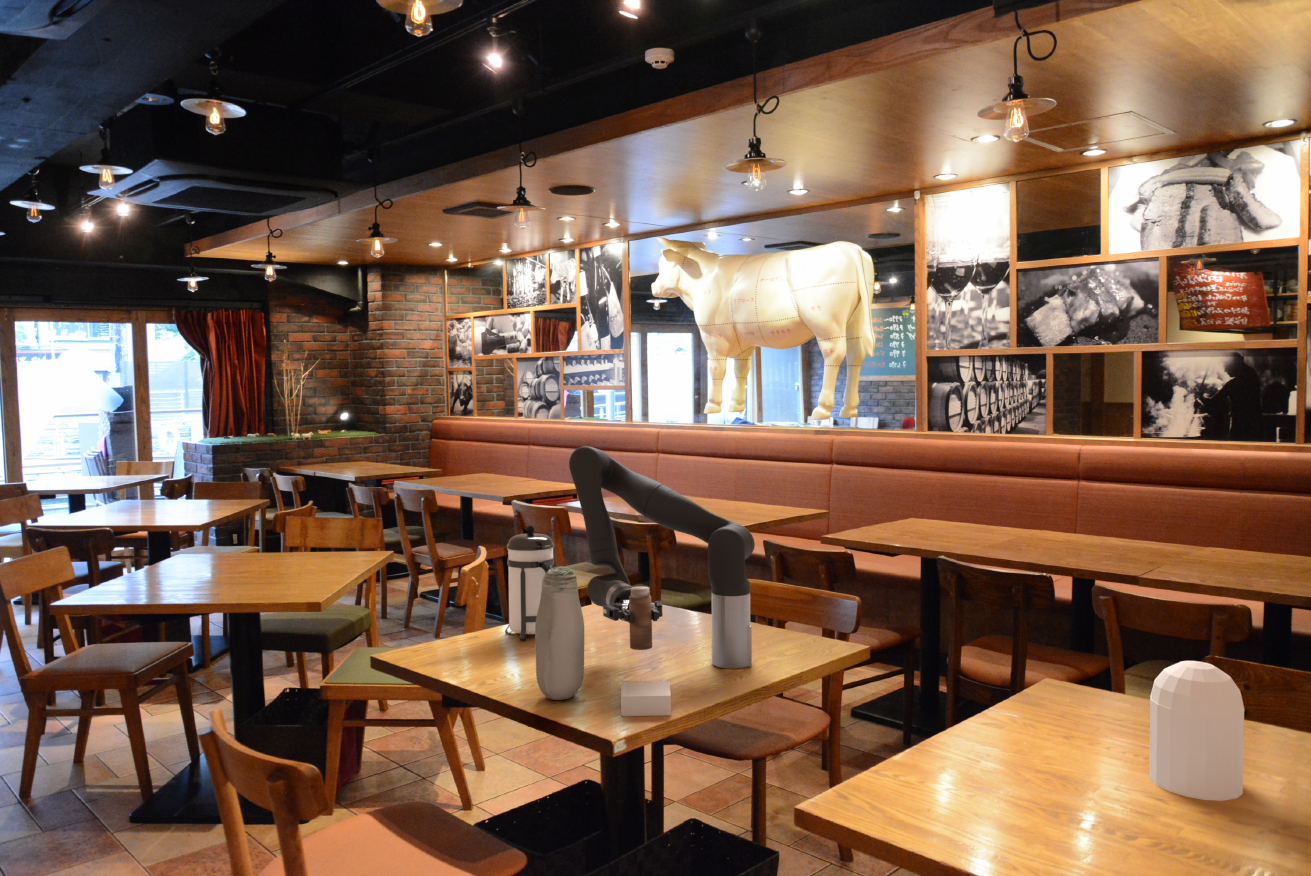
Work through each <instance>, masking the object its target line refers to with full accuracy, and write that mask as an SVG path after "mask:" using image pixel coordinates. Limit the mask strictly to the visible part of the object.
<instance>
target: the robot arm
mask: <svg viewBox="0 0 1311 876" xmlns="http://www.w3.org/2000/svg"><path fill="white" fill-rule="evenodd" d="M568 466H569V471H570V475H571V478H572V482H573V484H574V487H575V491H576V494H577V497H578V501H579V504H580V508H581V513H582V516H583V521H584V526H585V527H584V528H585V532H586V533H585V534H586V539H587V545H588V552H589V558H590V562H591V564H592V565H593V566H597V567H606V568H609V569H610V570H611V572H612V573H606V574H600V575H595V576H593V577H592V578H590V580H589V582H588V583H587V587H586V588H587V595H588V597H589V600H590V601H591V602H592V603H593V604H595V605H596V606H598V607H602V611H603V612H602V615H603V617H605V618H606V619H607V618H608V619H609V620H612V621H614V622H617V621H619V620H620V621H623V622H627V623H628V624H630V623H633V613H632V612H631V611H629V596H631V588H632V587H633V586H632V585H631V583H630V579H629V578H628V575H627V573H626V572H625V569H624V566H623V565H622V562H621V559H620V555H619V552H618V550H619V549H618V544H617V538H616V533H615V529H614V526H613V525H614V524H613V523H612V520H611V517H610V514H609V511H608V510H607V507H606V504H605V501H604V498H603V492H602V489H603V490H605V491H608V492H610V493H612V494H614V495H616V496H618V497H619V498H620V499H622V500H623V501H624V502H626V504H627V505H629V507H631V508H632V510H634V511H636V512H637V513H639V514H640V515H641V516H644V518H646V519H648V520H650V521H651V522H653V523H655V524H657V525H659V526H661V527H664V528H666V529H669V530H672V531H675V532H678V533H682V534H684V535H685V534H686V535H689V536H692V537H695V538H698V539H699V540H702V541H703V542H705V543H706V544H707V570H708V572H707V573H708V580H709V583H710V586H711V664H712V665H713V666H715V667H718V668H720V669H721V668H722V669H743V668H746V667H748V666H749V667H753V665H752V664H753V662H752V661H753V655H752V654H753V651H752V650H753V647H752V646H753V645H752V642H753V638H752V637H753V636H752V634H753V631H752V630H753V628H752V625H751V581H750V580H749V579H748V578H747V575H746V560H747V559H748V558H749V557H751V555H752V554H753V552H754V550H755V539H754V535H753V534H752V533H751V531H749V529H747V527H745V526H743V525H742V524H739V523H737V522H734V521H731V520H729V519H727V518H724V517H722V516H721V515H718V514H715V513H713V512H711V511H709V510H708V509H705V508H704V507H702V506H701V505H699V504H698V503H696V502H694V501H693V500H691V499H689V498H688V497H686V496H684V495H682V494H681V493H679V492H678V491H675V489H672V488H671V487H668V486H666V485H665V484H663V483H661V482H659V481H657V480H654V479H652V478H650V477H648V476H646V475H643V474H640V473H637V472H635V471H633V470H630V468H628V467H626V466H625V465H623V464H621V463H620V462H618V461H617V460H616V459H615V458H613V457H612V456H610V455H609V454H608V453H606V451H604V450H601V449H599V448H595V447H592V446H589V445H584V446H579V447H578V448H576V449H575V450H574V451H572V453H571V455H570V457H569V461H568ZM651 608H652V622H657V621H658V620H660V618H662V617H663V601H662V600H661V599H658V600H656V601H654V603H651ZM749 667H748V668H749Z"/></svg>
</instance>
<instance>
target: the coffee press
mask: <svg viewBox="0 0 1311 876" xmlns="http://www.w3.org/2000/svg"><path fill="white" fill-rule="evenodd" d="M534 526H535V525H532V524H529V525H527V526H526V529H525V530H526V532H527V533H520V534H516V535H514V536H511V538H510V539H509V540H508V543H507V544H506V549H507V554H508V556H507V559H506V560H507V566H508V569H507V570H508V574H507V575H508V625H507V627H506V628H505V629H504V633H505V634H506V635H510V634H511V633H517V634H520V635H519V641H520V642H526V641H527V637H528V636H529V635H535V624H536V617H537V612H538V609H539V604H540V599H541V592H542V580H543V577H544V575H545V573H546V572H547V571H548V570H549V569H551V568H554V564H555V557H554V547H555V542H553V539H552V537H550V536H549V535H547V534H545V533H535V527H534ZM509 629H510V632H509V631H508V630H509Z"/></svg>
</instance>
